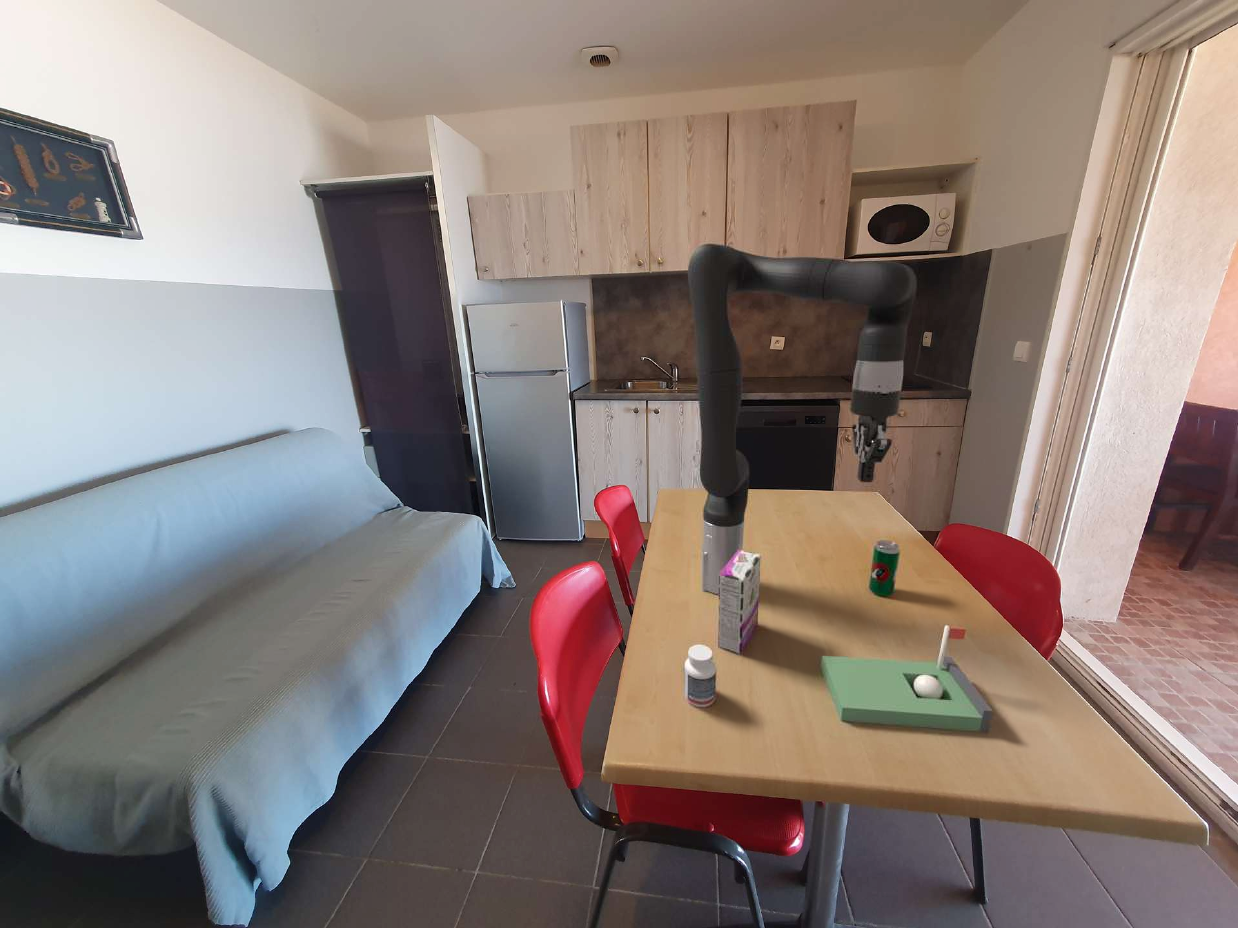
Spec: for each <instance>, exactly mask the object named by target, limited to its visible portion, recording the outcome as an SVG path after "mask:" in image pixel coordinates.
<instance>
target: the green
mask: <svg viewBox="0 0 1238 928" xmlns="http://www.w3.org/2000/svg"><path fill="white" fill-rule="evenodd" d="M966 631H967V628H966V627H952V626H950V625H947V624H946V625H944V629H943V635H942V640H941V643H940V644H941V645H940V650H939V655H938V659H937V662H933V661H932V662H928V661H915V660H914V661H913V660H898V659H884V658H883V659H882V658H881V659H880V658H867V657H866V658H864V657H863V658H862V657H847V656H833V655H832V656H829V655H822V656H821V663H820V669H821V672H822V674H823V677H824V681H825V682H826V685H827V687H828V690H829V693H830V695H831V698H832V700H833V703H834V706H835V708H836V712H837V714H838V716H839V719H840V722H841V721H842V722H855V723H865V724H877V725H891V726H893V725H894V726H905V727H906V726H907V727H919V728H929V729H940V730H941V729H942V730H943V729H944V730H957V731H969V732H979V733H989V728H990V726H991V720H992V716H993V713H994V711H993V709H992V708H991V707H990V705H989V704H988V703H987V701H986V700H985V699H984V698H983V696H982V695H981V693H979V691H978V690H977V688H976V687H975V686H974V685H973V683H972V682H971V680H970V679H968V677H967V675H966V674H965V673H964V672H963V670H962V669H961V668H960V667H959V665H958V664H957V663H956V662H955V660H954V659H953V658H952V656H946V651H947V650H946V649H947V644H948V640H950V639H951V640H952V639H953V640H965V636H966ZM920 675H930V676H932V677H934V678H936V679H937V680H938V681H939V682H940V684H941V686H942V690H943V693H942V696H941V698H940V699H926V698H920V697H919V696H918V695H917V693H916V692H915V690H914V681H915V679H916V678H917V677H918V676H920Z"/></svg>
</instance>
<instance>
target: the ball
mask: <svg viewBox="0 0 1238 928" xmlns="http://www.w3.org/2000/svg"><path fill="white" fill-rule="evenodd" d="M914 690H915V692H916V693H917V695H918V696H919V697H920V698H926V699H940V698H941V696H942V693H943V690H942V686H941V684H940V682H939V681H938V680H937V679H936V678H934V677H932V676H930V675H920V676H918V677H917V678H916V679H915V681H914Z"/></svg>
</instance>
